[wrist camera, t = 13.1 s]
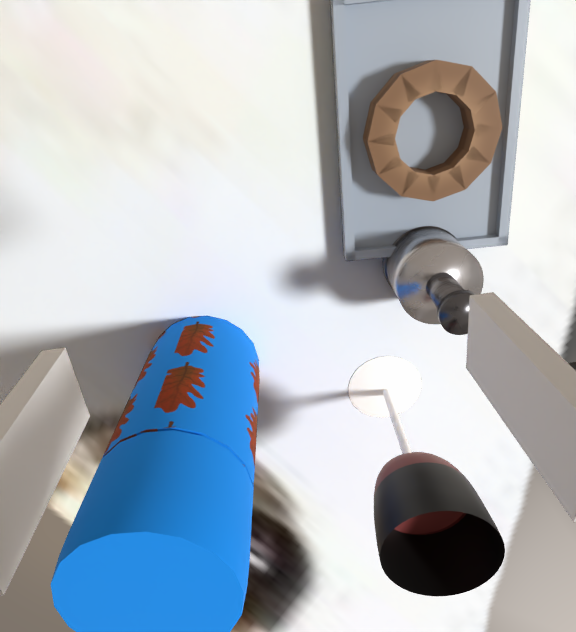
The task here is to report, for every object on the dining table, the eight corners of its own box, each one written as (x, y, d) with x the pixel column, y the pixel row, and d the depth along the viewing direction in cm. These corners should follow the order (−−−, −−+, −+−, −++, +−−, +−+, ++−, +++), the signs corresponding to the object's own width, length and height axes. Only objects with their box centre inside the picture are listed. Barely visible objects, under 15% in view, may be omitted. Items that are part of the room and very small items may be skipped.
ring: (339, 140, 40) (343, 144, 38) (428, 32, 37) (437, 29, 35) (424, 216, 43) (432, 224, 41) (513, 121, 40) (527, 124, 38)
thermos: (131, 374, 51) (14, 616, 28) (186, 293, 47) (102, 497, 24) (223, 424, 53) (184, 679, 31) (281, 351, 50) (286, 582, 27)
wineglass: (379, 338, 49) (438, 491, 31) (442, 383, 52) (530, 549, 34) (327, 392, 52) (354, 562, 34) (389, 432, 54) (445, 611, 36)
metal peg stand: (367, 266, 46) (392, 321, 36) (422, 207, 44) (466, 248, 34) (420, 310, 48) (459, 374, 38) (476, 255, 46) (533, 308, 36)
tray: (344, 255, 46) (346, 261, 44) (330, -5, 37) (332, -8, 35) (499, 239, 45) (507, 244, 44) (523, -27, 37) (533, -31, 35)
